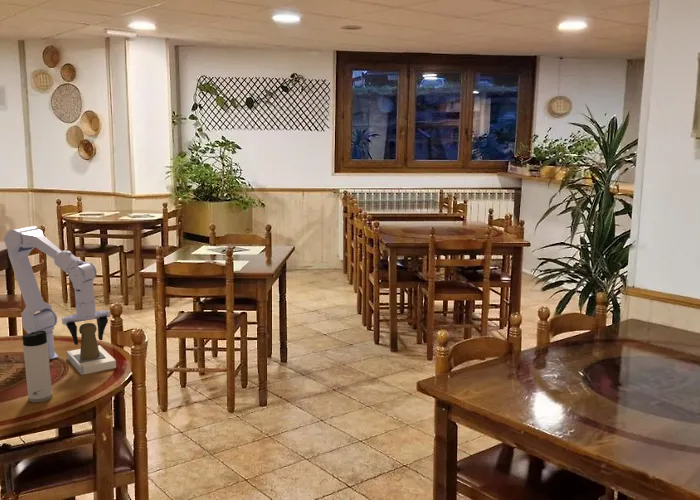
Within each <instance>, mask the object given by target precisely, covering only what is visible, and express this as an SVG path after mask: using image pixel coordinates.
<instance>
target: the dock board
mask: <svg viewBox="0 0 700 500" xmlns="http://www.w3.org/2000/svg"><path fill="white" fill-rule="evenodd" d="M98 349H99V351H100V352H101V353H102V354H103V355H104V356H105V357H106V358H104V359H99V360H93V361H88V362H83V363H80V362H79V361H78V360H77V359H76V358H75V357H74V355H77V354H80V351H81V348H78V349H74V350H73V349H72V350H67V351H66V359H67V360H68V361H69V363H70V364H71V365H72V366H73V367H74V369H75V370H76V371H77V372H78V373H79V374H80V375H81V376H83V375H88V374H93V373H97V372H102V371H107V370H112V369H116V368H117V361H116V359H115V358H114V357H113V356H111V354H110V353H108V351H106V349H104V348H103V346H101V345H98Z"/></svg>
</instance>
